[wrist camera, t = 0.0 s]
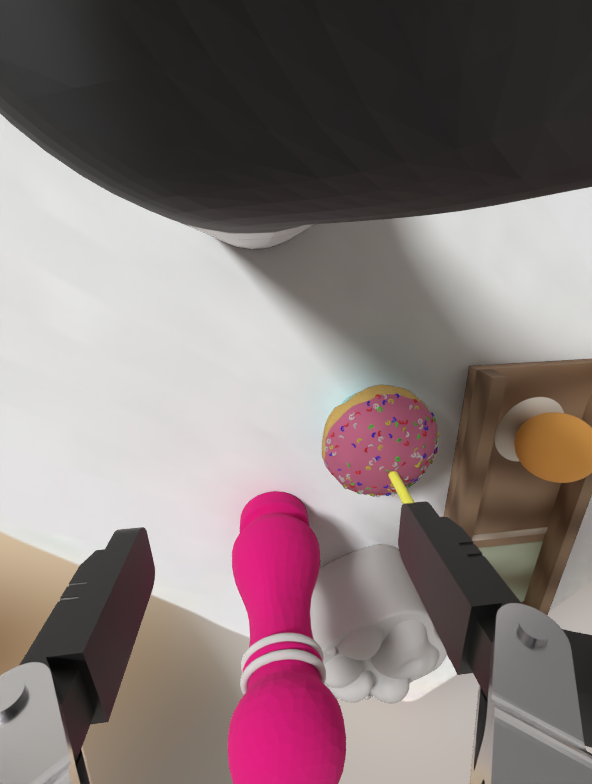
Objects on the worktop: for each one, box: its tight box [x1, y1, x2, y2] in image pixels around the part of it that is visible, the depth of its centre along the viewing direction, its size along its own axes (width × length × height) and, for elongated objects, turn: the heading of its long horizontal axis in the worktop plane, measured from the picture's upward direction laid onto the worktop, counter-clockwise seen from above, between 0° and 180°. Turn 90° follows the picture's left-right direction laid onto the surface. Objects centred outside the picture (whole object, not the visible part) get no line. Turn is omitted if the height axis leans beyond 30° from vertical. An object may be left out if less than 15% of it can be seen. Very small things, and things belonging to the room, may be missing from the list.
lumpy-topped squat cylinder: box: [310, 544, 447, 704], centre depth 33 cm, size 10×13×9 cm
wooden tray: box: [444, 359, 592, 660], centre depth 32 cm, size 30×12×5 cm, turn 2°
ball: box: [514, 412, 592, 483], centre depth 27 cm, size 6×6×6 cm
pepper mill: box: [228, 491, 346, 784], centre depth 23 cm, size 7×7×20 cm
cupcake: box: [322, 385, 439, 504], centre depth 23 cm, size 9×8×12 cm
